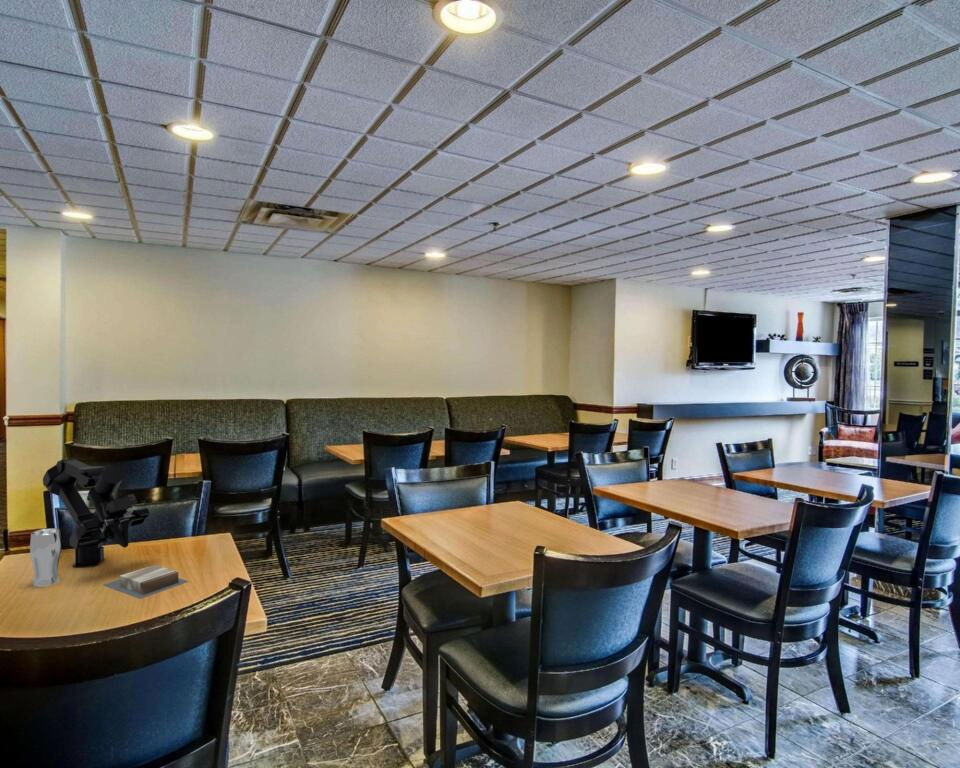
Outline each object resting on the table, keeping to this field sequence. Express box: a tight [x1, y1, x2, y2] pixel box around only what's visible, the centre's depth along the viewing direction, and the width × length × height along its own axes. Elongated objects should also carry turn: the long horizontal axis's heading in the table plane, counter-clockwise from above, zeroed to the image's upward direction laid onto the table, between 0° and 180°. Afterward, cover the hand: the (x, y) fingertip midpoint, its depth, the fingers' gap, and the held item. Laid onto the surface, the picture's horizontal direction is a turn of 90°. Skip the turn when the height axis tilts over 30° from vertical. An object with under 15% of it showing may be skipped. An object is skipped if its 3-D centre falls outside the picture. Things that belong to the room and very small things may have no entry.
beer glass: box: [29, 527, 62, 588], centre depth 161 cm, size 7×7×15 cm
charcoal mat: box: [102, 577, 190, 600], centre depth 162 cm, size 18×14×1 cm
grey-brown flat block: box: [119, 564, 179, 595], centre depth 162 cm, size 3×10×11 cm
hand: (126, 546), depth 167 cm, fingers closed
